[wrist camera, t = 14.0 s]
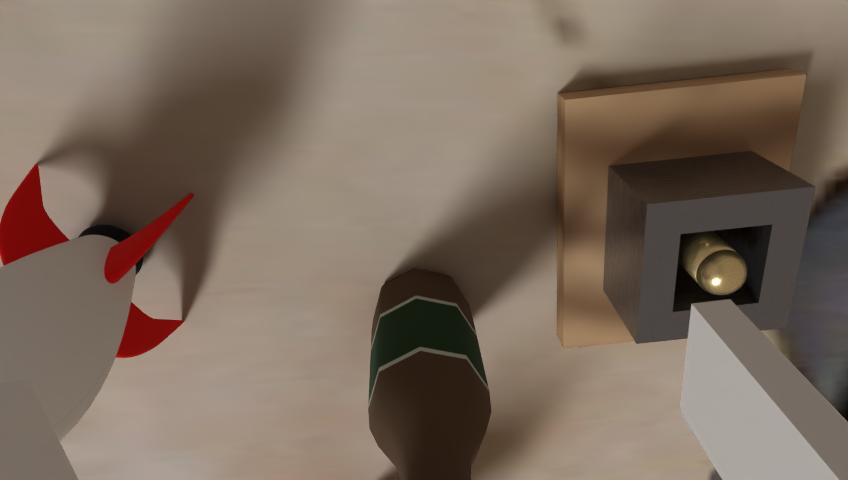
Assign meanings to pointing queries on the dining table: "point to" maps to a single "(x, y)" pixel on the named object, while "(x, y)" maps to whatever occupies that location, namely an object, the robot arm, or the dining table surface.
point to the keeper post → (712, 262)
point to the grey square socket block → (698, 212)
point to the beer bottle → (427, 379)
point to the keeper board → (641, 142)
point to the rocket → (70, 303)
